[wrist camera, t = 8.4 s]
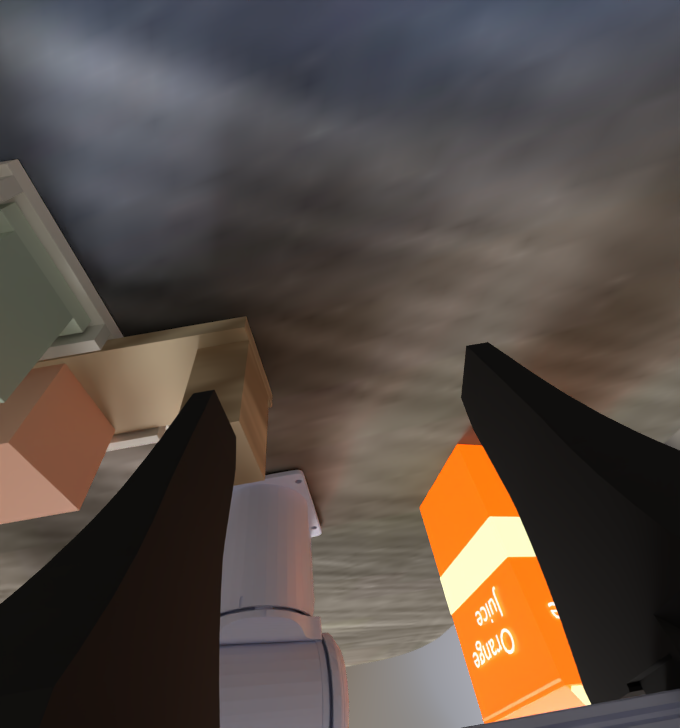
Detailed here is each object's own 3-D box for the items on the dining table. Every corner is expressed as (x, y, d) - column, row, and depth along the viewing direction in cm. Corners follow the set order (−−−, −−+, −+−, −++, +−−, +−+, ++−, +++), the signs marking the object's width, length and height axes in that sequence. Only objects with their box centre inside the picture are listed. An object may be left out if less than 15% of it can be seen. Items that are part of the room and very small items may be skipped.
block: (115, 430, 22) (79, 510, 18) (28, 445, 22) (-26, 528, 18) (65, 363, 19) (8, 442, 15) (-37, 380, 19) (-120, 464, 15)
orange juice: (417, 507, 35) (526, 876, 19) (455, 443, 29) (649, 877, 14) (494, 509, 36) (652, 848, 21) (543, 448, 31) (803, 839, 16)
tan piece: (246, 316, 20) (232, 406, 14) (272, 395, 23) (269, 490, 18) (-28, 363, 19) (-138, 470, 14) (40, 435, 23) (-28, 542, 18)
